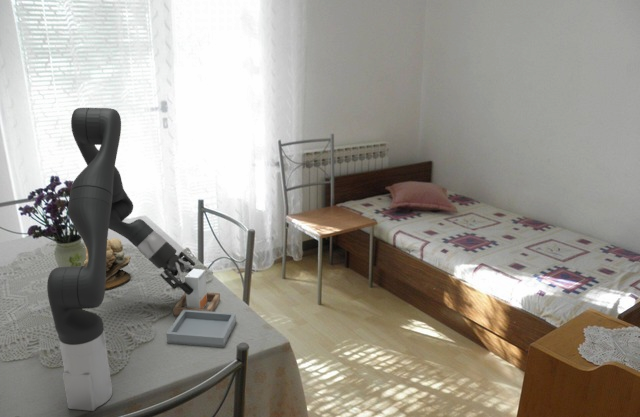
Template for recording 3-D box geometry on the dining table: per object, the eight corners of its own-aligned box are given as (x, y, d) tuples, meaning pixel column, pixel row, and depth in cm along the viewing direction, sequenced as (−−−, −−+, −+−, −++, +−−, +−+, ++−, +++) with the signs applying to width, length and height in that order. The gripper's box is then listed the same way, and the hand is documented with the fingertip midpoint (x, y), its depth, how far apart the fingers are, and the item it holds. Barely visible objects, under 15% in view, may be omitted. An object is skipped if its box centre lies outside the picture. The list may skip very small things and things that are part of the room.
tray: (223, 347, 142) (223, 338, 141) (167, 343, 144) (166, 333, 143) (236, 322, 154) (235, 313, 153) (183, 318, 156) (183, 309, 155)
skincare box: (200, 313, 159) (197, 278, 155) (186, 312, 159) (184, 276, 155) (208, 303, 164) (205, 269, 160) (195, 302, 165) (192, 268, 161)
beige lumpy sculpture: (126, 269, 186) (121, 225, 181) (138, 282, 178) (134, 236, 172) (72, 283, 176) (66, 236, 170) (83, 297, 167) (76, 248, 161)
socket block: (209, 318, 156) (208, 311, 155) (173, 315, 157) (173, 308, 156) (220, 300, 166) (219, 293, 166) (186, 298, 167) (186, 291, 167)
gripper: (154, 251, 149) (196, 290, 152) (173, 232, 162) (211, 268, 165) (138, 267, 151) (180, 304, 154) (158, 247, 164) (196, 282, 167)
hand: (196, 286), depth 159 cm, fingers open, 8 cm apart
